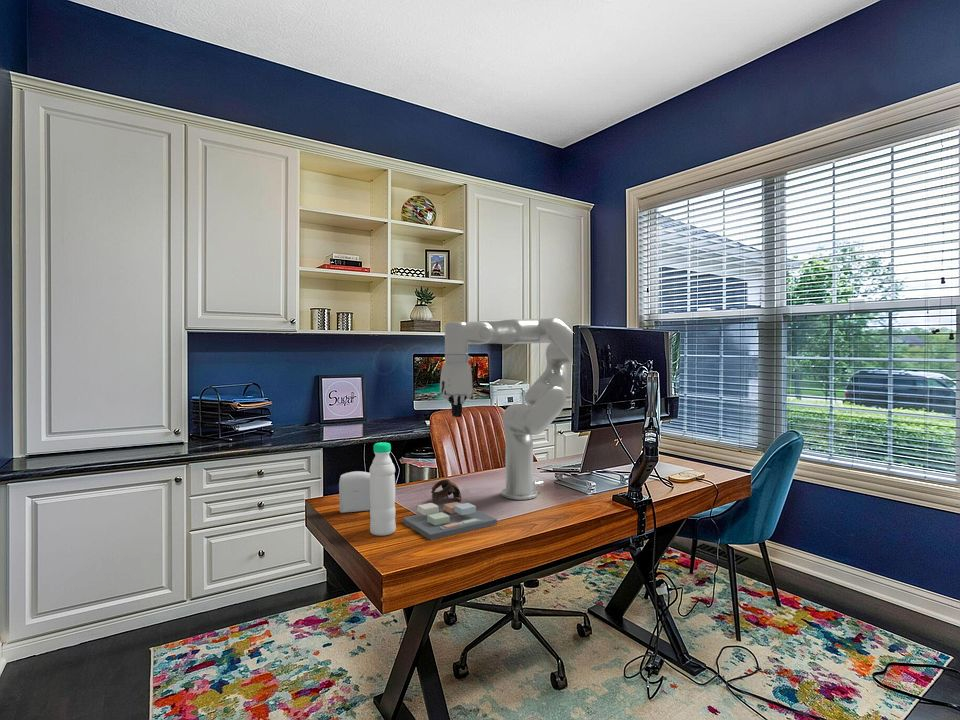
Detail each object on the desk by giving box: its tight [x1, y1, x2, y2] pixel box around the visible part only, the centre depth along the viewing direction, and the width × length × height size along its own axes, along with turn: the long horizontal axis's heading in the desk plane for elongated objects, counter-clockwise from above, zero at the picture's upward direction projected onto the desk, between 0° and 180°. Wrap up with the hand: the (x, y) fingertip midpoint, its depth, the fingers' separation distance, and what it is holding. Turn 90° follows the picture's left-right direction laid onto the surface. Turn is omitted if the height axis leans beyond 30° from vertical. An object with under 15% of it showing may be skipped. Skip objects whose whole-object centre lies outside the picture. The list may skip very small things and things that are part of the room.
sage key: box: [427, 512, 450, 526], centre depth 152 cm, size 5×4×2 cm
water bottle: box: [369, 441, 397, 537], centre depth 149 cm, size 7×7×25 cm
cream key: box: [416, 502, 440, 515], centre depth 157 cm, size 5×4×2 cm
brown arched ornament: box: [431, 478, 463, 503], centre depth 179 cm, size 12×10×8 cm
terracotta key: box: [443, 501, 462, 514], centre depth 162 cm, size 5×4×2 cm
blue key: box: [454, 502, 477, 515], centre depth 157 cm, size 5×4×2 cm
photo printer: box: [338, 470, 371, 514], centre depth 168 cm, size 10×4×12 cm, turn 104°
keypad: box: [402, 508, 498, 541], centre depth 156 cm, size 22×17×2 cm
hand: (456, 416), depth 172 cm, fingers closed
